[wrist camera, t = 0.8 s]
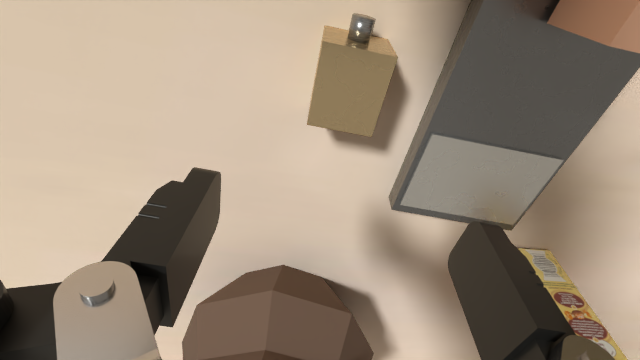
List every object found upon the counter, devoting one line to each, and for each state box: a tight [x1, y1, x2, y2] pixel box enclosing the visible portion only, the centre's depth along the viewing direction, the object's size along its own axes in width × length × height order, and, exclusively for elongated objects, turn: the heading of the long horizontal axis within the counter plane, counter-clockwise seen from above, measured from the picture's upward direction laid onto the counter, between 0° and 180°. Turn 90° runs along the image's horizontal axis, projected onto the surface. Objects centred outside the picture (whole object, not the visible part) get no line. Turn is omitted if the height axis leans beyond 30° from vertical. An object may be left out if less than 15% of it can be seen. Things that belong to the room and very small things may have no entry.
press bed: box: [389, 0, 640, 230], centre depth 26 cm, size 24×13×2 cm, turn 169°
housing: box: [307, 14, 398, 137], centre depth 24 cm, size 8×5×5 cm, turn 169°
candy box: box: [518, 248, 627, 360], centre depth 34 cm, size 9×4×15 cm, turn 176°
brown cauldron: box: [182, 265, 374, 360], centre depth 39 cm, size 24×24×16 cm
